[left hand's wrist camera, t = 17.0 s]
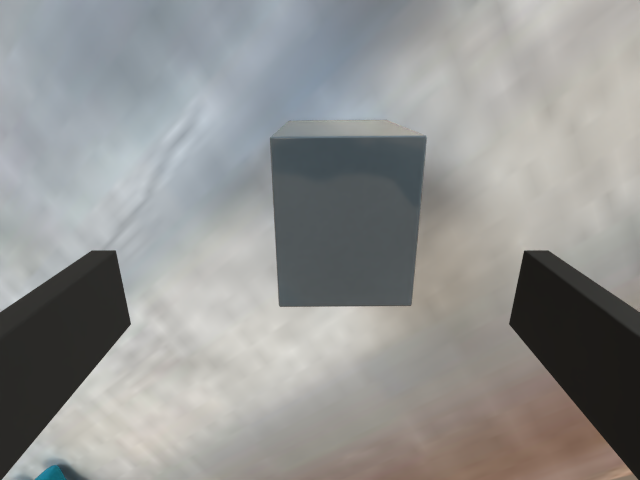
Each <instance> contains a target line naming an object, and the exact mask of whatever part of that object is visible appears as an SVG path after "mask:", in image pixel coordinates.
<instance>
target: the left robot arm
mask: <svg viewBox="0 0 640 480" xmlns="http://www.w3.org/2000/svg"><path fill="white" fill-rule="evenodd" d="M130 325H131V322H130V318H129V313H128V308H127V303H126V298H125V293H124V288H123V284H122V279H121V274H120V269H119V264H118V259H117V254H116V251H91V252H89V253H88V254H86V255H85V256H83V257H82V258H80V259H79V260H77V261H76V262H74V263H73V264H71V265H70V266H68V267H67V268H65V269H64V270H62V271H61V272H59V273H58V274H56V275H55V276H54V277H52V278H51V279H49V280H48V281H46V282H45V283H43V284H42V285H40V286H39V287H37V288H36V289H34V290H33V291H31V292H30V293H28V294H27V295H25V296H24V297H22V298H21V299H19V300H18V301H16V302H15V303H13V304H12V305H11V306H9V307H8V308H6V309H5V310H3V311H2V312H0V480H2V479H3V477H4V476H5V475H6V474H7V473H8V471H9V470H10V469H11V468H12V467H13V465H14V464H15V463H16V462H17V460H18V459H19V458H20V457H21V456H22V454H23V453H24V452H25V451H26V450H27V448H28V447H29V446H30V445H31V444H32V442H33V441H34V440H35V439H36V438H37V436H38V435H39V434H40V433H41V432H42V430H43V429H44V428H45V427H46V426H47V424H48V423H49V422H50V421H51V420H52V418H53V417H54V416H55V415H56V414H57V412H58V411H59V410H60V409H61V408H62V406H63V405H64V404H65V403H66V402H67V400H68V399H69V398H70V397H71V396H72V394H73V393H74V392H75V391H76V390H77V388H78V387H79V386H80V385H81V384H82V382H83V381H84V380H85V379H86V378H87V376H88V375H89V374H90V373H91V371H92V370H93V369H94V368H95V367H96V365H97V364H98V363H99V362H100V361H101V359H102V358H103V357H104V356H105V355H106V353H107V352H108V351H109V350H110V349H111V347H112V346H113V345H114V344H115V343H116V341H117V340H118V339H119V338H120V337H121V335H122V334H123V333H124V332H125V331H126V329H127V328H128V327H129V326H130ZM509 325H510V326H511V327H512V328H513V329H514V331H515V332H516V333H517V334H518V335H519V337H520V338H521V339H522V340H523V341H524V343H525V344H526V345H527V346H528V347H529V349H530V350H531V351H532V352H533V353H534V355H535V356H536V357H537V358H538V359H539V361H540V362H541V363H542V364H543V365H544V367H545V368H546V369H547V370H548V371H549V373H550V374H551V375H552V376H553V378H554V379H555V380H556V381H557V382H558V384H559V385H560V386H561V387H562V388H563V390H564V391H565V392H566V393H567V394H568V396H569V397H570V398H571V399H572V400H573V402H574V403H575V404H576V405H577V406H578V408H579V409H580V410H581V411H582V412H583V414H584V415H585V416H586V417H587V418H588V420H589V421H590V422H591V423H592V424H593V426H594V427H595V428H596V429H597V430H598V432H599V433H600V434H601V435H602V436H603V438H604V439H605V440H606V441H607V442H608V444H609V445H610V446H611V447H612V448H613V450H614V451H615V452H616V453H617V454H618V456H619V457H620V458H621V459H622V460H623V462H624V463H625V464H626V465H627V467H628V468H629V469H630V470H631V471H632V473H633V474H634V475H635V476H636V477H637V479H638V480H640V312H638V311H637V310H635V309H634V308H632V307H631V306H629V305H628V304H627V303H625V302H624V301H622V300H621V299H619V298H618V297H616V296H615V295H613V294H612V293H610V292H609V291H607V290H606V289H604V288H603V287H601V286H600V285H598V284H597V283H595V282H594V281H592V280H591V279H589V278H588V277H586V276H585V275H584V274H582V273H581V272H579V271H578V270H576V269H575V268H573V267H572V266H570V265H569V264H567V263H566V262H564V261H563V260H561V259H560V258H558V257H557V256H555V255H554V254H552V253H551V252H549V251H524V254H523V259H522V264H521V269H520V274H519V279H518V284H517V288H516V293H515V298H514V303H513V308H512V313H511V318H510V322H509Z"/></svg>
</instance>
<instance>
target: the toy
mask: <svg viewBox="0 0 640 480" xmlns="http://www.w3.org/2000/svg"><path fill="white" fill-rule="evenodd" d="M35 480H66V478H65V477H64V475H63V473H62V471H61V469H60V468H59V466H57V465H53V466H51V467H49V468H48V469H46V470H45V471H44V472H43V473H41V474H40V475H39V476H38V477H37V478H36V479H35Z"/></svg>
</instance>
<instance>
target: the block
mask: <svg viewBox="0 0 640 480" xmlns="http://www.w3.org/2000/svg"><path fill="white" fill-rule="evenodd" d="M426 141H427V136H425V135H423V134H420V133H418V132H415V131H413V130H410V129H408V128H406V127H403V126H401V125H398V124H396V123H393V122H391V121H388V120H302V121H288V122H287V123H286V124H285V125H284V126H283V127H281V128H280V129H279V130H278V131H277V132H276V133H275V134H274V135H272V136H271V137H270V148H271V167H272V185H273V204H274V222H275V241H276V260H277V278H278V297H279V306H280V307H310V306H411V304H412V295H413V284H414V273H415V262H416V251H417V240H418V229H419V218H420V207H421V196H422V185H423V174H424V163H425V152H426Z"/></svg>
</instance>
